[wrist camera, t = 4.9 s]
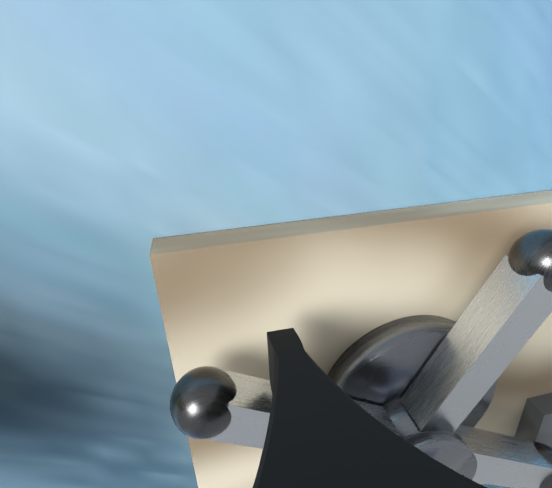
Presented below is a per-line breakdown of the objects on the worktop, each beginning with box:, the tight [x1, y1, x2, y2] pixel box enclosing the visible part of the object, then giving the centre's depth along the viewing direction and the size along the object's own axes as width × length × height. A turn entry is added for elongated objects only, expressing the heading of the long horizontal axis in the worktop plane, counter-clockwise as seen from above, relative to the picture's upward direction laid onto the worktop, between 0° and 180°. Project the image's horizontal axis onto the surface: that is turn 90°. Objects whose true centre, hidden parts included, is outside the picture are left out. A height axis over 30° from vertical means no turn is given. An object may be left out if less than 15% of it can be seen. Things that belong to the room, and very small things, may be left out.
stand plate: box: [150, 190, 552, 488], centre depth 17 cm, size 16×18×1 cm
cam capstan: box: [170, 229, 552, 488], centre depth 14 cm, size 18×18×4 cm
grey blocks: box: [507, 393, 552, 488], centre depth 19 cm, size 6×2×2 cm, turn 2°
